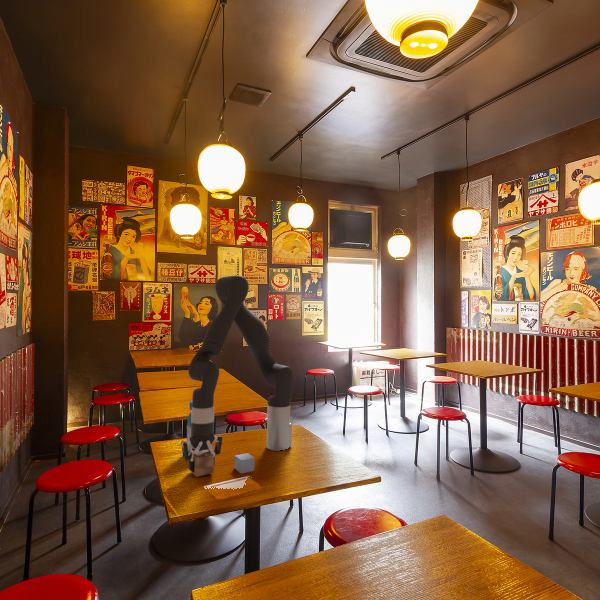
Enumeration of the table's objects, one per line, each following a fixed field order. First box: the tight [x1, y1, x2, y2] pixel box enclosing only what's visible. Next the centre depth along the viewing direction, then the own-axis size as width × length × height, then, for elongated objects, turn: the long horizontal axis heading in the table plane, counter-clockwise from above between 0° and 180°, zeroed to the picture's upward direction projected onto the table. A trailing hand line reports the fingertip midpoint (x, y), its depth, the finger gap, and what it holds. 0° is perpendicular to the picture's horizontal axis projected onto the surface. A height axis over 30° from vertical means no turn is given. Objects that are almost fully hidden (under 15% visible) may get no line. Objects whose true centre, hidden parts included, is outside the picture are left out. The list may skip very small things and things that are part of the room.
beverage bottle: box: [186, 400, 192, 455], centre depth 163 cm, size 8×8×20 cm
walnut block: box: [191, 450, 215, 478], centre depth 144 cm, size 6×6×6 cm
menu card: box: [203, 475, 251, 490], centre depth 134 cm, size 16×11×1 cm
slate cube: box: [234, 452, 255, 474], centre depth 148 cm, size 5×5×5 cm
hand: (201, 469), depth 144 cm, fingers closed on walnut block, 6 cm apart
